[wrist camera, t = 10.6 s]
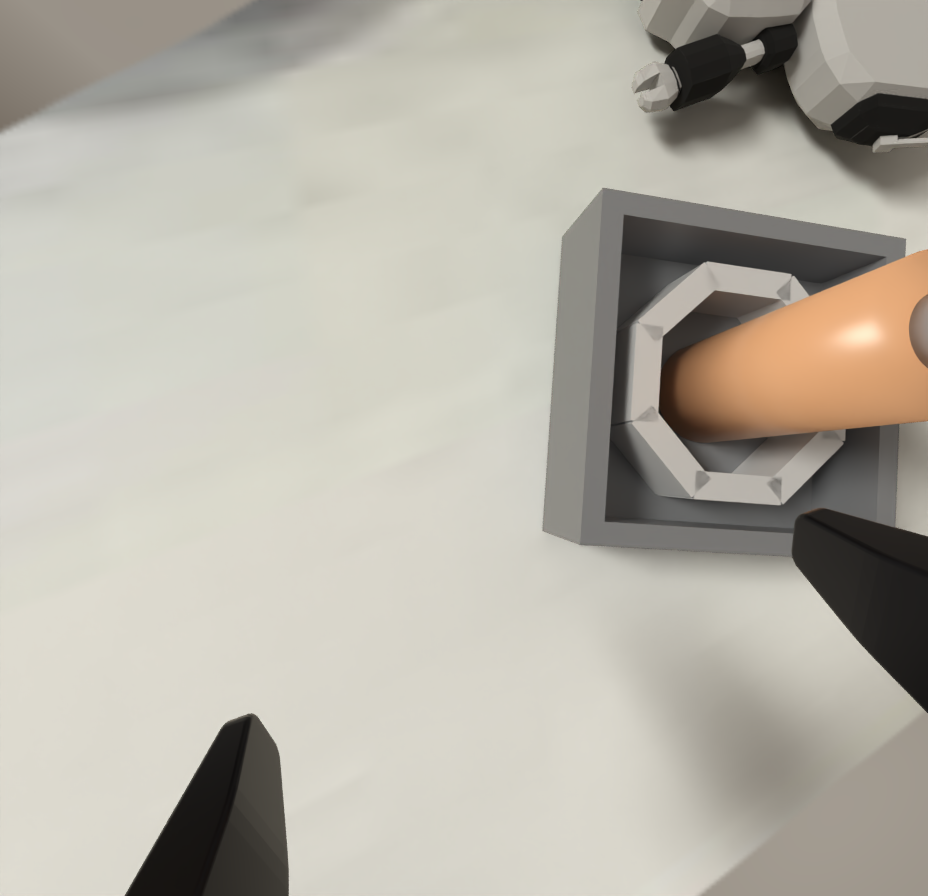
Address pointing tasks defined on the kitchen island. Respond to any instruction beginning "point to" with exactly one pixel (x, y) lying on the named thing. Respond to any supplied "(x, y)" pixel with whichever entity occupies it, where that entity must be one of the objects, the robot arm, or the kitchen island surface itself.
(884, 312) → the orange cylinder
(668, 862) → the kitchen island surface
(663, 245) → the housing
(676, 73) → the robot toy
